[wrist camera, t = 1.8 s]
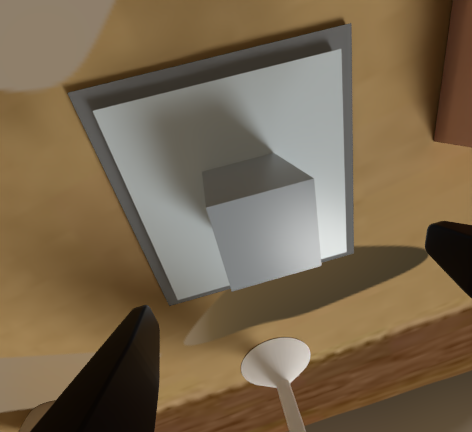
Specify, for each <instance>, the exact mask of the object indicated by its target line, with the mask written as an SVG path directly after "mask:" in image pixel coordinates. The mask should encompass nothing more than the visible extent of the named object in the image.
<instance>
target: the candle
mask: <svg viewBox="0 0 472 432" xmlns="http://www.w3.org/2000/svg"><path fill="white" fill-rule="evenodd" d="M54 402H55V401H50V402H46V403H43V404H40V405H39V406H37V407H35V408H34V409H33V410H31V412H30V413H29V414H28V416H27V417H26V419H25V421H24V423H23V424H22V426H21V428H20V430H19V432H30V431H31V430H32V428H33V427H34V426H35V425H36V424H37V422H38V421H39V420H40V419H41V418H42V416H43V415H44V414H45V413H46V412H47V411H48V409H49V408H50V407H51V406H52V405H53V403H54Z"/></svg>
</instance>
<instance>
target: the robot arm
mask: <svg viewBox="0 0 472 432" xmlns="http://www.w3.org/2000/svg"><path fill="white" fill-rule="evenodd" d="M425 249H426V251H427V253H428V254H429V255H430V256H431V257H432V258H433V259H434V260H435V261H436V263H437V264H438V265H439V266H440V267H441V268H442V269H443V270H444V271H445V272H446V273H447V274H448V275H449V276H450V277H451V278H452V279H453V280H454V281H455V282H456V283H457V285H458V286H459V287H460V288H461V289H462V290H463V291H464V292H465V293H466V294H468V295H469V296H470V297H471V298H472V225H467V224H461V223H454V222H448V221H440V222H437V223H433V224H431V225H429V227H428V229H427V235H426V242H425ZM159 353H160V330H159V324H158V322H157V320H156V318H155V316H154V314H153V312H152V311H151V309H150V307H149V306H148V305H143V306H140V307H136V308H134V309H133V310H132V311H131V312H130V313H129V314H128V315H127V317H126V318H125V319H124V320H123V321H122V322H121V324H120V325H119V326H118V327H117V328H116V330H115V331H114V332H113V333H112V334H111V336H110V337H109V338H108V339H107V340H106V342H105V343H104V344H103V345H102V346H101V347H100V349H99V350H98V351H97V352H96V353H95V355H94V356H93V357H92V358H91V359H90V361H89V362H88V363H87V365H85V367H84V368H83V369H82V370H81V371H80V373H79V374H78V375H77V376H76V377H75V378H74V380H73V381H72V382H71V383H70V384H69V386H68V387H67V388H66V389H65V390H64V391H63V393H62V394H61V395H60V396H59V397H58V399H57V400H56V401H55V402H54V403H53V405H52V406H51V407H50V408H49V409H48V411H47V412H46V413H45V414H44V415H43V416H42V418H41V419H40V420H39V421H38V422H37V424H36V425H35V426H34V427H33V428H32V430H31V431H30V432H154V429H155V420H156V411H157V401H158V392H159Z"/></svg>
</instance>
